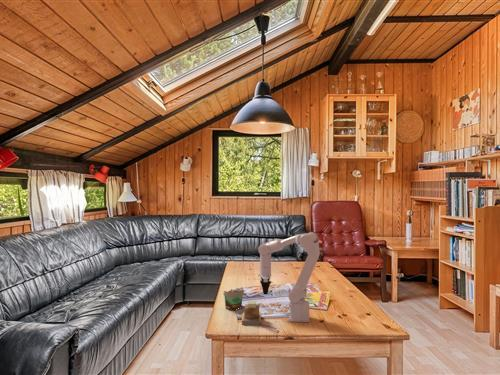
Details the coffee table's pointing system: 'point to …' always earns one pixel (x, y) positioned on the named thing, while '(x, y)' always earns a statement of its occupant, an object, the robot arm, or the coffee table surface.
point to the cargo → (251, 304)
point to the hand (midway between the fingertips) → (265, 291)
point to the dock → (251, 320)
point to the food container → (233, 299)
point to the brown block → (251, 312)
